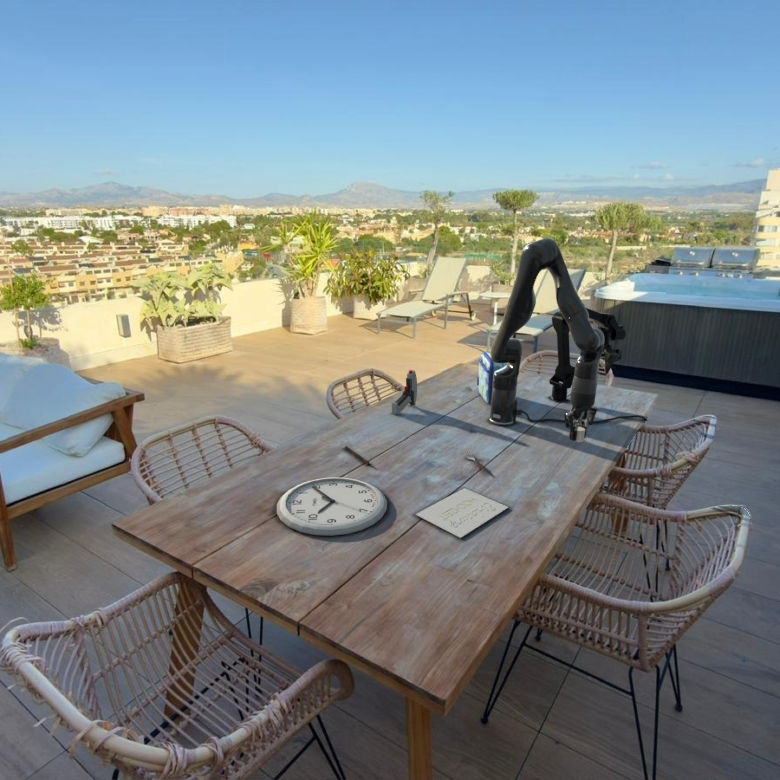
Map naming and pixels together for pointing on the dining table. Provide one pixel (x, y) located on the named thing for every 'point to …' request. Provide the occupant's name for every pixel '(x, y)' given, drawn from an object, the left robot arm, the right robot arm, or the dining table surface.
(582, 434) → the cream short cylinder
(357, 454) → the brown thin stick
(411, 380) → the toy gun
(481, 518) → the invitation card
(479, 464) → the fork
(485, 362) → the lunch box
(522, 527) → the dining table surface
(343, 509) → the wall clock
